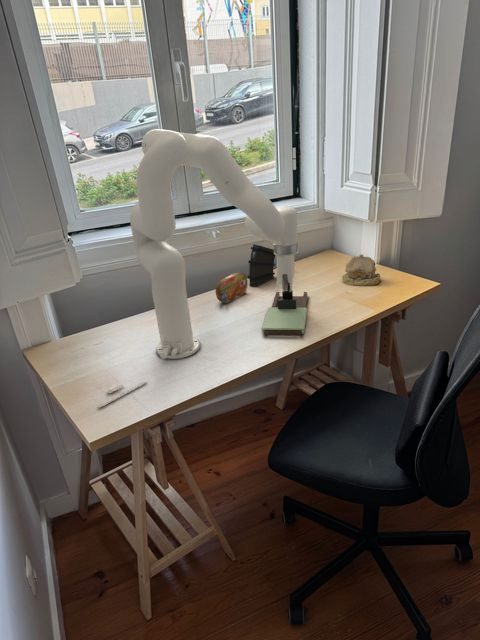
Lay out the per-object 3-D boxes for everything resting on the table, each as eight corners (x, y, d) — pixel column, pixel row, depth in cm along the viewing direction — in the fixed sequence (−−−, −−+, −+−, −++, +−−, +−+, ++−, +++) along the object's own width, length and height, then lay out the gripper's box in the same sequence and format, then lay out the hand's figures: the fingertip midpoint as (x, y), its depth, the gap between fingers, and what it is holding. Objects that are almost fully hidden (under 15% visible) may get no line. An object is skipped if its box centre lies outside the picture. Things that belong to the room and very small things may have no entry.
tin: (222, 306, 174) (219, 283, 170) (215, 304, 176) (212, 282, 172) (248, 291, 185) (247, 270, 180) (242, 290, 186) (240, 268, 182)
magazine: (242, 283, 188) (251, 243, 185) (264, 287, 198) (273, 250, 195) (249, 285, 186) (259, 245, 183) (271, 289, 196) (281, 251, 193)
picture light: (99, 408, 124) (98, 401, 123) (90, 402, 127) (88, 395, 126) (145, 384, 133) (144, 377, 132) (136, 378, 135) (134, 372, 134)
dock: (301, 338, 150) (300, 330, 149) (264, 337, 152) (264, 330, 151) (307, 298, 176) (307, 291, 175) (276, 298, 178) (276, 291, 177)
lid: (303, 333, 149) (303, 319, 147) (261, 333, 151) (260, 319, 149) (307, 312, 162) (306, 299, 160) (268, 312, 164) (267, 298, 162)
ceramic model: (339, 284, 186) (339, 258, 181) (345, 273, 195) (346, 248, 190) (377, 287, 181) (378, 260, 176) (382, 276, 190) (383, 250, 185)
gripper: (276, 241, 162) (278, 293, 170) (270, 256, 149) (273, 312, 158) (299, 240, 160) (300, 293, 169) (295, 255, 148) (297, 312, 156)
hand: (287, 302), depth 163 cm, fingers closed
